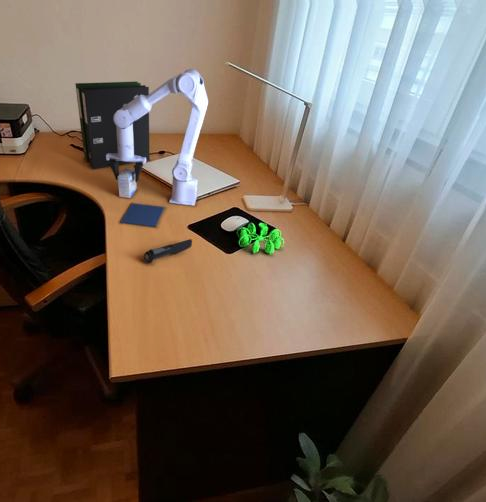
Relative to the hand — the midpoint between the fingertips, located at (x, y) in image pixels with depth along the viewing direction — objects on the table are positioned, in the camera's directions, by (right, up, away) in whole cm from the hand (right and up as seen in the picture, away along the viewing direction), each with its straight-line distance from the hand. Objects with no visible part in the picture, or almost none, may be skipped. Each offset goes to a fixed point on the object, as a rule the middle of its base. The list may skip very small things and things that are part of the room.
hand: (127, 179), depth 131 cm
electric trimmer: (+17, -28, -28) cm, 43 cm away
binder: (-10, +16, +32) cm, 37 cm away
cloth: (+7, -14, -10) cm, 19 cm away
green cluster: (+45, -25, -21) cm, 56 cm away
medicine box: (0, -5, +3) cm, 6 cm away
